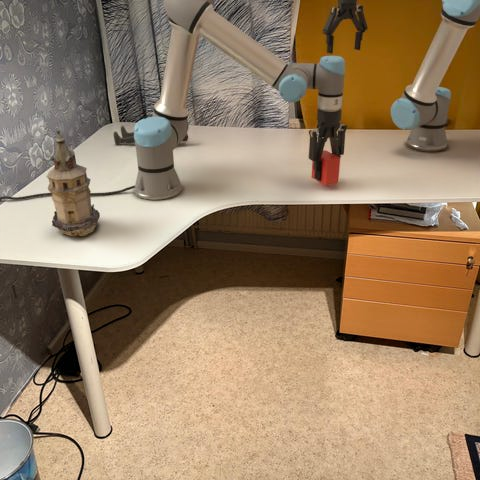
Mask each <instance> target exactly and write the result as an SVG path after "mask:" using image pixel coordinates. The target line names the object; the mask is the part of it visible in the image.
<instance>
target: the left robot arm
mask: <svg viewBox="0 0 480 480" xmlns="http://www.w3.org/2000/svg"><path fill="white" fill-rule="evenodd" d="M215 3H216V0H163V8H164V10H165V13H166V15H167V16H168V22H169V25H170V26H171V34H170V39H169V45H168V50H167V57H166V62H165V68H164V75H163V80H162V85H161V91H160V96H159V97H160V98H159V101H157V102H155V104H154V105H153V110H152V116H148V117H146V118H142V119H139V120H138V121H137V122H136V123H135V125H134V127H133V132H134V139H135V143H134V144H135V154H136V161H137V175H136V179H135V184H134V185H132V186H128V187H126V188H123V189H120V190H114V191H107V192H90V197H91V196H109V195H117V194H122V193H125V192H127V191H130V190H133V189H134V193H135V195H136V196H137V197H138V198H141V199H143V200H148V201H161V200H168V199H171V198H174V197H176V196H178V195H179V194H180V193H181V192H182V183H181V180H180V177H179V176H178V173H177V171H176V169H175V161H174V160H175V159H174V158H175V157H174V150H175V149H176V148H177V146H179V145H180V143H182V141H183V140H184V138H185V137H186V135H187V134H188V132H189V128H190V127H189V125H190V124H189V120H188V118H189V110H188V108H187V107H186V105H187V100H188V95H189V90H190V84H191V81H192V75H193V71H194V65H195V61H196V55H197V50H198V45H199V40H200V37H202V38H203V39H204V40H206V41H207V42H209V44H211V45H212V46H214V47H216V48H217V49H219V50H220V52H222V53H224V54H226V55H227V56H228V57H230V58H231V59H233V61H235V62H237V63H238V64H240V65H241V66H243V67H244V68H245V69H247V70H248V71H249V72H251V73H252V74H253V75H255V76H257V77H258V78H259V79H261V80H262V81H264V82H265V83H266V84H268V85H269V86H271V87H272V88H273V89H274V90H276V91H278V93H279V96H280V97H281V98H282V100H283V101H285V102H288V103H296V102H299V101H300V100H301V99H302V98H303V97H304V96H306V94H307V90H318V91H317V93H318V94H317V104H316V105H317V110H316V121H317V124H316V126H315V128H313V130H312V129H310V130H309V131H308V135H309V145H308V159H309V161H311V162H312V161H314V166H313V169H314V170H315V177H314V178H315V179H317V180H318V181H321V174H322V162H321V161H320V160H321V156H322V153H323V151H324V149H325V145H326V142H327V141H328V139H329V144H330V151H331V153H332V154H334V155H336V156H338V157H340V159H341V158H342V156H343V155H344V154H345V143H346V132H347V129H348V125H345V124H344V123H341V120H342V111H343V110H342V108H343V100H344V99H343V98H344V97H343V96H344V85H345V75H346V74H345V73H346V60H345V59H344V57H343V56H339V55H324V56H321V57H320V58H319V62H317V63H310V62H308V63H307V62H294V61H293V62H286V61H284V60H283V59H281V58H280V57H278V56H277V55H276V54H275V53H273V52H272V51H270V50H269V49H268V48H266V47H265V46H263V45H262V44H260V43H259V42H258V41H256V40H255V39H254V38H252V37H251V36H250V35H248V34H247V33H245V32H244V31H242V30H241V29H240V28H238V27H237V26H236V25H234V24H233V23H232V22H230V21H229V20H227V19H226V18H225V17H223V16H222V15H220V14H219V13H218V12H216V11H215V10H214V6H215ZM315 179H314V180H315ZM317 180H316V181H317ZM318 181H317V182H318ZM45 196H52V193H51V192H44V193H35V194H30V195H24V196H17V197H15V196H8V195H7V196H6V195H4V196H0V201H2V200H12V201H19V200H27V199H31V198H32V199H33V198H39V197H45ZM11 288H12V293H13V296H14V299H15V300H17V299H18V296H17V290H16V287H15V284H11Z"/></svg>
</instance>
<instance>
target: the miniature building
mask: <svg viewBox="0 0 480 480" xmlns="http://www.w3.org/2000/svg"><path fill="white" fill-rule="evenodd" d="M56 134H57V136H56V138H55V140H54V141H55V142H56V147H55V154H54V156H52V157H51V161H52V162H53V165H54V167H53V168H51V169H50V170H49V171H48V173H47V174H46V178H47V179H48V182H49V184H48V186H47V190H48V191H49V193H52V195H51V200H52V201H53V205H54V209H55V211H53V217H52V220H51V223H52V225H51V227H54V228H56V229H58V230H59V231H60V234H63V235H64V234H65V235H66V236H69V237H77V236H80V237H83V236H87V235H88V234H90V233H93V232H94V231H95V229H96V226H97V225H98V223H99V220H100V216H101V213H100V212H99V210H98V209H96V208H95V204H92V201H91V200H92V199H91V198H92V197H91V196H90V193H92V191H91V188H90V184H91V178H89V177H88V174H87V167H85V166H84V165H83V166H82V165H80V164H77V160H76V154H75V151H74V150H70V149H69V147H68V145H67V143H66V138H65V137H64V136H63V135H61V130H60V129H56Z"/></svg>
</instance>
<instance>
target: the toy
mask: <svg viewBox="0 0 480 480" xmlns="http://www.w3.org/2000/svg"><path fill="white" fill-rule="evenodd" d="M120 133H121V136H120V134H119V133H118V132H117V131H114V132H113V140H114V144H115V145H116V146H117V145H120V144H135V139H134V131H132V132H131V131H130V132H128V131H127V130H126V127H125V126H124V125H122V126H120ZM188 140H189V134H188V133H187V135H186V137H185V138H184V140H183V141H182V142H187V141H188ZM182 142H181V143H182Z"/></svg>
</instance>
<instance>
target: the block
mask: <svg viewBox="0 0 480 480" xmlns="http://www.w3.org/2000/svg"><path fill="white" fill-rule="evenodd" d="M320 161H321V162H322V174H321V181H318V180H317V179H315V178H314V177H315V170H314V169H313V166H314V161H312V160H311V162H312V163H311V178H312V179H313V180H315V181H316V182H319V183H320V184H322V185H323V186H325V187H327V186H331V185H334V184H338V183H339V180H340V168H341V158H340V157H338V156H336V155H334V154H332V152H330V151H328V150H326V149H325V150H324V149H323V153H322V156H321V160H320Z"/></svg>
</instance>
